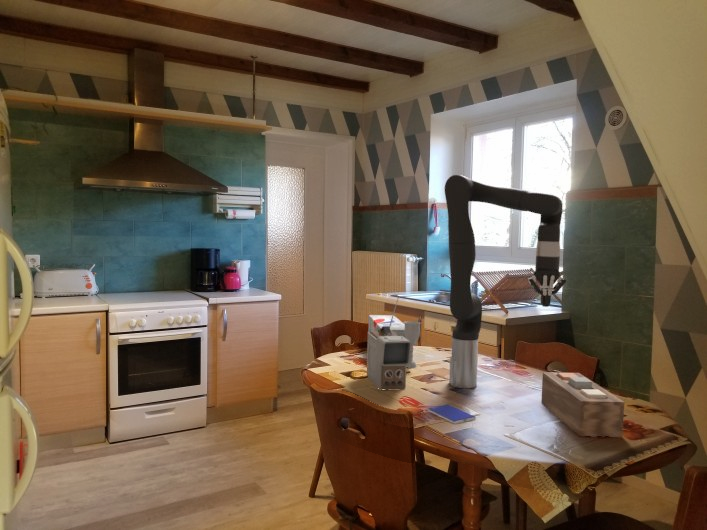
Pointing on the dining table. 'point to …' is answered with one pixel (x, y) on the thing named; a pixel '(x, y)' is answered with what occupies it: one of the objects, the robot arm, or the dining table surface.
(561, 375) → the terracotta key
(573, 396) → the keypad console
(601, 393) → the ivory key
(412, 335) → the chalice
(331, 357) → the dining table surface
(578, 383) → the slate key
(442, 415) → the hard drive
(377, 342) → the portable television
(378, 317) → the soda pack
